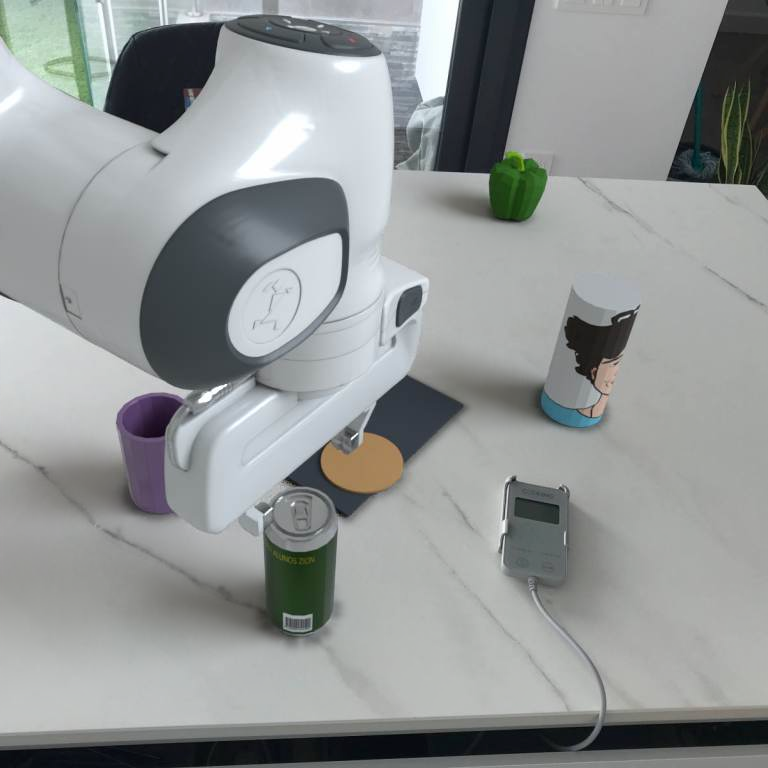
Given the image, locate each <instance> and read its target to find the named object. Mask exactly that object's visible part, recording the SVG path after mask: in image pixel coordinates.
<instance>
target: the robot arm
mask: <svg viewBox="0 0 768 768" xmlns="http://www.w3.org/2000/svg"><path fill="white" fill-rule="evenodd" d="M216 44H217V46H216V51H215V61H214V67H213V69H212V71H211V74H210V75H209V77H208V79H207V81H206V83H205V85H204V86H203V89H202V91H201V92H200V94H199V95H198V97H197V98H196V99H195V101H194V102H193V103H192V105H191V106H190V107H189V108H188V109H187V110H186V112H184V113H183V114H182V115H181V116H180V117H179V118H177V120H176V121H175V122H174V123H173V124H171V125H170V126H169V127H167V128H166V129H165V130H164V131H163V132H161V133H160V132H156V131H154V130H152V129H149V128H146V127H144V126H142V125H139V124H136V123H134V122H132V121H129V120H126V119H123V118H121V117H119V116H116V115H113V114H111V113H108V112H106V111H103V110H101V109H99V108H96V107H95V106H92V105H90V104H89V103H86V102H84V101H83V100H82V99H79V98H77V97H75V96H73V95H71V94H69V93H67V92H65V91H63V90H61V89H59V88H58V87H56V86H55V85H52V84H50V83H49V82H47V81H46V80H44V79H42V78H41V77H39V76H38V75H37V74H35V73H34V72H32V70H30V69H29V68H27V67H26V66H25V65H24V64H23V63H22V62H21V61H20V60H19V59H18V58H17V57H16V55H14V54H13V53H12V51H11V49H10V48H9V47H8V45H7V44H6V42H5V41H4V39H3V38H2V36H1V35H0V296H1V297H3V298H5V299H8V300H10V301H13V302H16V303H18V304H21V305H23V306H24V307H26V308H28V309H30V310H32V311H33V312H36V313H37V314H39V315H41V316H43V317H44V318H46V319H48V320H49V321H51V322H53V323H55V324H57V325H59V326H60V327H61V328H64V329H65V330H68V331H70V332H71V333H72V334H75V335H76V336H78V337H80V338H82V339H83V340H85V341H87V342H89V343H91V344H92V345H95V346H96V347H98V348H99V349H100V348H101V349H103V350H105V351H106V352H108V353H109V354H111V355H113V356H115V357H117V358H118V359H120V360H122V361H124V362H126V363H127V364H129V365H132V366H133V367H135V368H137V369H139V370H141V371H142V372H144V373H146V374H148V375H150V376H152V377H154V378H156V379H159V380H160V381H163V382H165V383H166V384H168V385H170V386H172V387H174V388H177V389H180V390H185V391H191V392H190V393H188V394H187V396H185V398H183V399H184V400H183V405H182V406H181V407H180V408H179V409H178V410H177V411H176V412H175V414H174V416H173V417H172V419H171V421H170V423H169V425H168V426H167V428H166V432H165V460H164V474H165V492H166V499H167V503H168V505H169V507H170V508H171V509H172V510H173V511H174V512H173V513H175V514H176V515H177V516H178V517H179V518H181V519H182V520H183V521H185V523H187V524H189V525H191V526H192V527H193V528H195V529H196V530H198V531H201V532H203V533H205V534H211V535H219V534H221V533H222V532H224V531H225V530H226V529H228V528H229V527H230V526H231V525H232V524H233V523H235V522H236V521H237V522H238V524H239V525H240V527H241V528H242V529H243V530H244V531H246V532H248V533H249V534H251V535H252V536H253V537H259V536H260V535H262V534H263V531H264V530H265V529H266V528H267V527H269V526H270V525H271V524H272V523H273V522H274V519H273V518H272V516H273V507H271V506H270V505H268V504H269V503H267V502H264V501H263V502H262V499H263V498H264V497H265V496H266V495H268V494H269V493H270V492H271V491H272V490H273V489H275V488H276V487H277V486H278V485H279V484H280V483H282V482H283V481H284V480H285V479H286V477H287V476H288V475H290V474H291V473H292V472H293V471H294V470H295V469H297V468H298V467H299V466H300V465H301V464H303V463H304V462H305V461H306V460H307V459H308V458H310V457H311V456H312V455H313V454H314V453H315V452H317V451H318V450H319V449H320V448H321V447H323V446H324V445H325V444H326V443H327V442H328V441H330V440H331V443H332V445H333V446H334V447H335V448H336V449H337V450H342V452H343V453H344V454H346V455H349V454H350V453H352V452H353V451H354V450H355V449H356V448H357V447H359V446H360V445H361V444H362V443H363V430H364V428H365V426H366V424H367V422H368V420H369V418H370V416H371V413H372V411H373V409H374V407H375V405H376V401H377V400H378V399H379V398H380V397H381V396H383V395H384V394H385V393H386V392H387V391H388V390H390V389H391V388H392V387H393V386H394V385H395V384H397V383H398V382H399V381H400V380H402V379H403V378H404V377H405V376H406V375H408V373H409V372H410V370H411V368H412V367H413V364H414V363H415V360H416V357H417V353H418V349H419V348H418V347H419V342H420V337H421V330H422V323H423V322H422V321H423V309H422V308H423V307H424V306H425V304H426V303H427V300H428V297H429V292H430V279H429V277H427V276H425V275H423V274H421V273H420V272H418V271H416V270H414V269H412V268H411V267H408V266H407V265H405V264H402V263H401V262H399V261H397V260H394V259H392V258H390V257H387V256H386V255H383V254H382V253H381V252H382V251H381V244H382V243H381V242H382V237H383V235H384V232H385V230H386V228H387V226H388V223H389V220H390V217H391V210H392V201H393V187H394V171H395V170H394V169H395V110H394V98H393V97H394V95H393V89H392V80H391V75H390V70H389V66H388V63H387V59H386V57H385V55H384V52H382V50H381V49H380V48H379V47H377V46H376V45H375V44H374V43H373V42H372V41H370V40H369V39H368V38H366V37H365V36H363V35H361V34H359V33H358V32H354V31H352V30H348V29H345V28H342V27H339V26H337V25H336V26H335V25H333V24H328V23H325V22H322V21H321V22H320V21H317V20H313V19H304V18H297V17H293V16H291V15H283V14H266V13H256V14H247V15H239V16H238V17H237V18H233V19H231V20H228V21H226V22H225V23H223V25H222V26H221V28H220V31H219V35H218V38H217V43H216Z"/></svg>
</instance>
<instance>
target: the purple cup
mask: <svg viewBox="0 0 768 768" xmlns="http://www.w3.org/2000/svg"><path fill="white" fill-rule="evenodd" d="M184 399H185V398H183V397H182V396H180V395H178V394H173V393H169V392H163V391H161V392H147V393H144V394H142V395H138V396H135V397H134V398H132V399H130V400H128V401H127V402H125V403H124V404H123V405H122V407H121V408H120V409H119V410H118V411H117V414H116V419H115V426H116V427H115V428H116V432H117V436H118V442H119V447H120V452H121V457H122V462H123V466H124V471H125V477H126V482H127V486H128V491H129V495H130V498H131V500H132V502H133V503H134V506H136V507H137V508H138V509H140V510H142V511H144V512H146V513H148V514H153V515H166V514H167V515H169V514H173V513H175V512H174V511H173V510H172V509H171V508H170V507H169V505H168V503H167V499H166V492H165V474H164V460H165V432H166V428H167V426H168V425H169V423H170V421H171V419H172V417H173V416H174V414H175V412H176V411H177V410H178V409H179V408H180V407H181V406H182V405H183V400H184Z"/></svg>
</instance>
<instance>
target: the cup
mask: <svg viewBox="0 0 768 768" xmlns="http://www.w3.org/2000/svg"><path fill="white" fill-rule="evenodd" d="M643 298H644V297H643V293H642V291H641V290H640V288H638V287H637V285H635V283H634V282H631V281H630V280H629V279H626V278H624V277H622V276H619V275H617V274H613V273H609V272H603V271H594V272H593V271H591V272H586V273H585V272H584V273H581V274H580V275H578V276H577V277H575V278H574V280H573V282H572V284H571V288H570V290H569V295H568V298H567V302H566V306H565V309H564V314H563V317H562V321H561V324H560V328H559V331H558V335H557V339H556V342H555V346H554V350H553V353H552V357H551V361H550V365H549V368H548V371H547V376H546V379H545V381H544V386H543V390H542V393H541V398H540V405H541V408H542V410H543V411H544V414H546V415H547V416H548V417H549V418H550V419H552V420H553V421H555V422H556V423H559V424H561V425H564V426H567V427H572V428H588V427H590V426H594V425H596V424H597V423H598V422H599V421H600V420H601V418H602V416H603V413H604V410H605V407H606V406H607V405H606V404H607V402H608V399H609V396H610V393H611V391H612V387H613V384H614V382H615V379H616V376H617V373H618V370H619V368H620V366H621V365H620V364H621V362H622V359H623V356H624V353H625V350H626V347H627V344H628V343H629V338H630V335H631V334H632V330H633V328H634V324H635V322H636V319H637V316H638V313H639V310H640V307H641V304H642V301H643Z"/></svg>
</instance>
